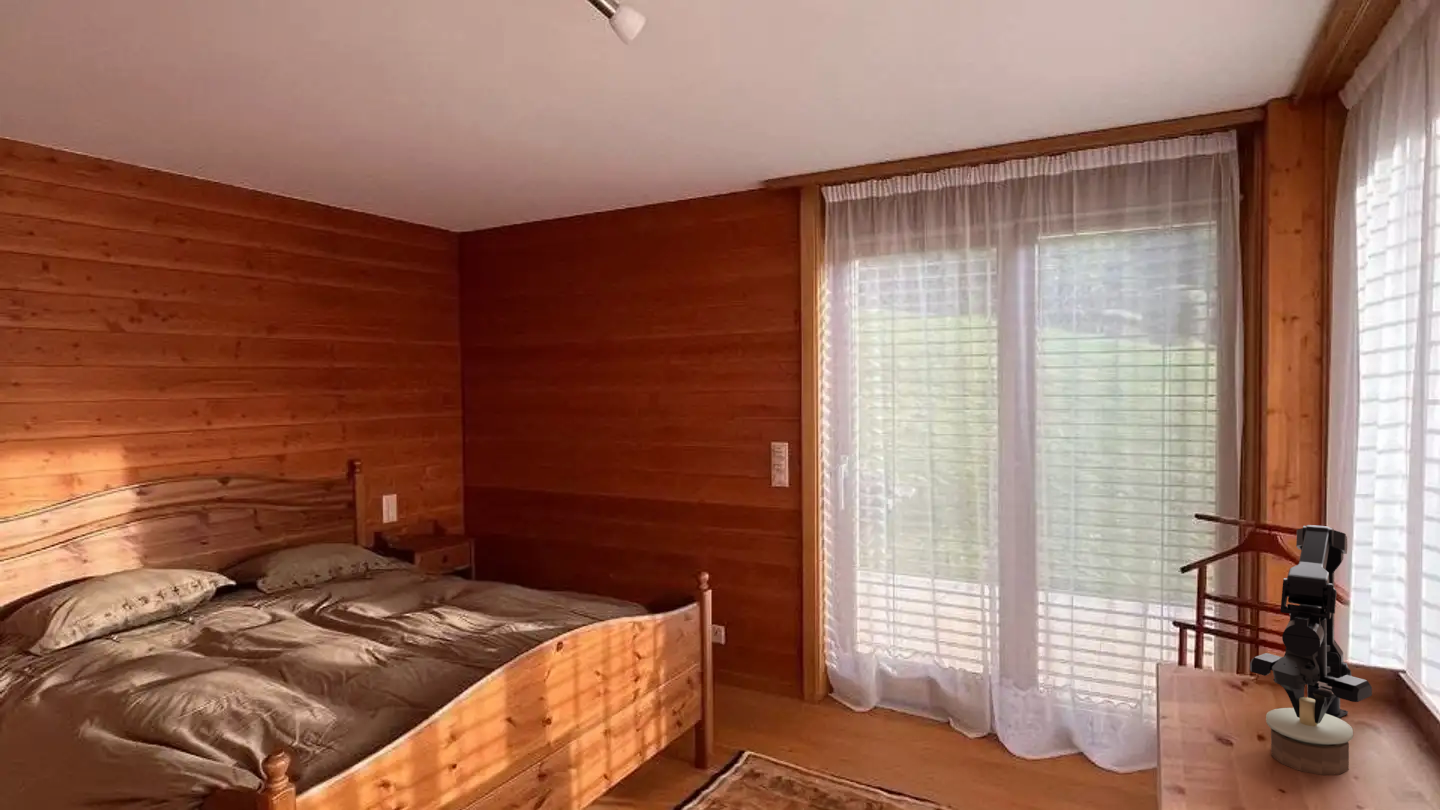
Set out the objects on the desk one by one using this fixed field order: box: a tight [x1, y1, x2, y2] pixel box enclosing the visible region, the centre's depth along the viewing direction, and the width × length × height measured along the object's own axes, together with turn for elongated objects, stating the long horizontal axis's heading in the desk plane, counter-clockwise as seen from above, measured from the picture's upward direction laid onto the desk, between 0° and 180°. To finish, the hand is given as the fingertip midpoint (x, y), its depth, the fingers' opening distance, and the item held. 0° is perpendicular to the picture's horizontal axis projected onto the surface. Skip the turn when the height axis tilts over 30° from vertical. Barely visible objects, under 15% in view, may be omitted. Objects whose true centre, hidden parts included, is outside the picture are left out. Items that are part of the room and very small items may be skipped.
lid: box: [1265, 696, 1354, 746], centre depth 161 cm, size 14×14×7 cm
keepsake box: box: [1270, 728, 1350, 776], centre depth 161 cm, size 12×12×5 cm
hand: (1308, 720), depth 161 cm, fingers closed on lid, 3 cm apart
